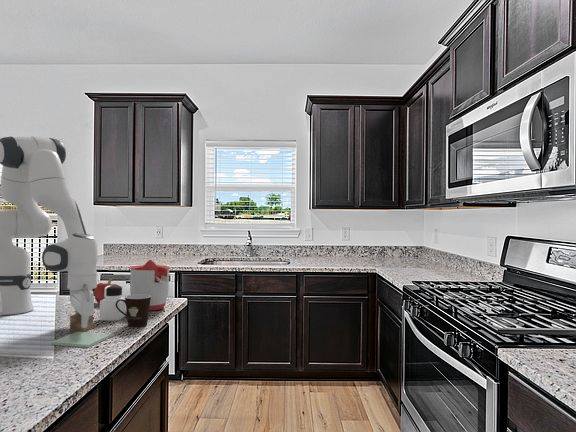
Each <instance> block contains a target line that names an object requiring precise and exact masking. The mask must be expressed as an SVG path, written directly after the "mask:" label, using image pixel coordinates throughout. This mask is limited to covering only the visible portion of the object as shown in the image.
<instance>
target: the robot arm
mask: <svg viewBox="0 0 576 432" xmlns="http://www.w3.org/2000/svg"><path fill="white" fill-rule="evenodd" d="M66 157H67V152H66V147H65V145H64V143H63V142H62V141H61V140H59V139H56V138H52V137H50V138H48V137H41V136H15V137H13V136H4V137H0V165H1V166H2V168H1V169H2V170H1V179H0V196H1V198H2V199H3V200H5V201H6V202H7V203H9V204H12V205H13V206H16V207H17V208H15V209H1V208H0V316H5V315H17V314H23V313H29V312H31V311H34V310H35V309H34V308H35V307H34V305H33V301H32V300H33V299H32V294H31V283H32V273H30V272H31V255H30V253H29V251H27V250H26V249H25V248H22V247H19V246H17V245H14V243H13V239H34V238H40V237H45V236H47V235H48V234H49V233H50V231H51V230H52V226H53V220H52V218H51V216H50V215H49V214H48V212H46V211H45V210H43V209H42V208H44V209H47V210H49V211H50V212H53V213H55V215H57V216H58V217H60V219H61V220H62V222H63V225H64V229H65V231H66V234H67V238H65V239H64V240H60V241H57V242H55V243H54V242H53V243H51V244H48V245H46V247H45V248H44V249H43V251H42V254H41V261H42V264H43V266H44V268H45V269H46V270H47V271H49V272H53V273H55V272H56V273H58V272H59V273H60V272H67V289H68V290H69V301H70V305H71V307H72V308H74V314H77V313H79V314H80V315H81V327H82V328H86V327H87V325H88V319H89V316H92V315H93V316H94V313H95V301H94V300H95V297H94V290H95V288H96V287H97V284H98V271H97V264H98V263H97V262H98V243H97V240H96V238H95V237H94V236H93V235H92V234H91V235H90V234H89V233H88V234H87V232H86V228H85V225H84V222H83V219H82V218H83V217H82V214H81V212H80V209H79V207H78V204H77V202H76V200H75V199H74V198H73V196H72V194H71V192H70V190H69V187H68V183H67V178H66V174H65V171H64V167H63V164H64V162H65V161H66V159H67V158H66ZM41 207H42V208H41ZM93 289H94V290H93Z"/></svg>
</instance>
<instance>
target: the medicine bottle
mask: <svg viewBox="0 0 576 432" xmlns="http://www.w3.org/2000/svg"><path fill="white" fill-rule="evenodd" d="M118 285H119V284H117V285H111V286H107V287H105V291H104V297H105V299H103V300H101V301H100V303H99V321H109V322H110V321H112V322H114V321H117V322H118V321H119V322H120V320H122V319H123V318H125V317H126V316H125V315H124V314H122V313H121V312H120V311H119V310H118V309H117V308H116V301H118V300H120V299H123V300H125V297H123V287H122V286H121V285H119V286H118ZM117 306H118V308H119V309H120V310H121V311H123V312H124V313H125V314H126V304H125V303H124V302H123V301H119V302H118V304H117Z"/></svg>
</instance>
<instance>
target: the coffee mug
mask: <svg viewBox="0 0 576 432" xmlns="http://www.w3.org/2000/svg"><path fill="white" fill-rule="evenodd" d="M124 298H125V300H123V299H120V300H118V301H116V308H117V309H118V310H119V311H120V312H121V313H122V314H124V315H125V317H126V321H127V326H128V327H130V328H144V327H146V326H148V319H149V313H150V311H149V307H150V300H151V296H150V295H145V294H135V295H131V294H129V295H126V296H124ZM119 301H123V302H124V303H125V304H126V308H125V313H124V312H123V311H121V310H120V309H119V308H118V306H117V304H118V302H119Z"/></svg>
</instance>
